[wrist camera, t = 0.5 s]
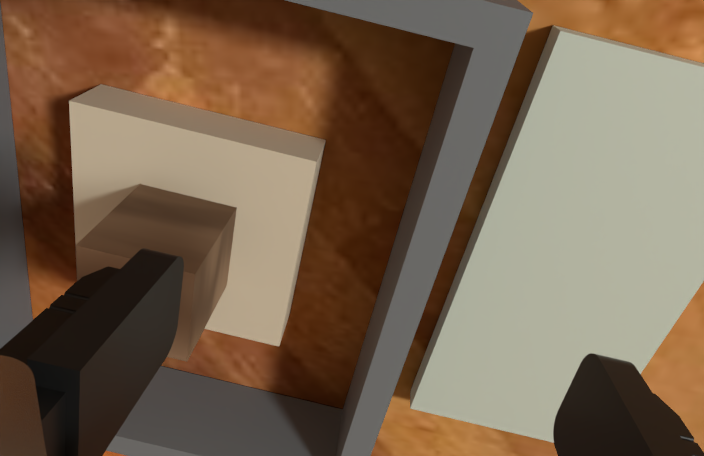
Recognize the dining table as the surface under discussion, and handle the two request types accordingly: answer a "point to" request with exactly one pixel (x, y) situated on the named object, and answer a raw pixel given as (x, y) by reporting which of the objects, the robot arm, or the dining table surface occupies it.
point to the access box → (273, 230)
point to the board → (575, 236)
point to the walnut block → (168, 250)
